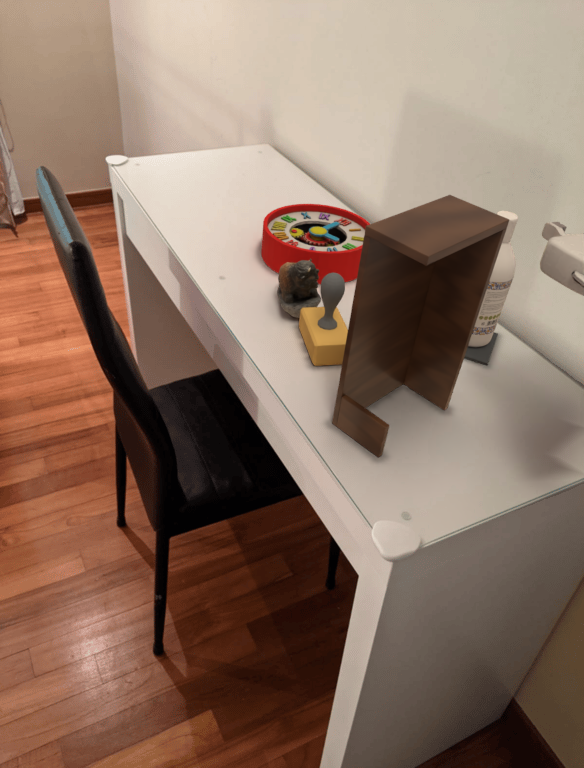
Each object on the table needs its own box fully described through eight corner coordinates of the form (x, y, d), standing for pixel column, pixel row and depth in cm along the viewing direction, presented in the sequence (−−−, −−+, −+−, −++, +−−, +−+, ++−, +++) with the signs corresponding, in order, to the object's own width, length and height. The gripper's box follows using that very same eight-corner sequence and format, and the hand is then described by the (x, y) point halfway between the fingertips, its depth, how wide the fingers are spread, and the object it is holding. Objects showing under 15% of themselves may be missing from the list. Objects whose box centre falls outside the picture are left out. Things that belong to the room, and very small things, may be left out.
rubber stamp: (351, 364, 88) (364, 292, 80) (312, 366, 87) (322, 293, 79) (334, 325, 95) (344, 255, 88) (298, 326, 94) (305, 256, 86)
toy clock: (239, 222, 107) (312, 195, 120) (238, 252, 111) (309, 223, 123) (327, 265, 98) (396, 231, 110) (323, 297, 101) (390, 260, 114)
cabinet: (447, 407, 82) (510, 219, 65) (378, 457, 74) (428, 256, 57) (402, 379, 86) (449, 194, 69) (331, 423, 78) (365, 225, 61)
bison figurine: (271, 285, 103) (275, 230, 97) (312, 286, 104) (319, 231, 98) (280, 326, 94) (285, 267, 87) (324, 325, 95) (333, 268, 89)
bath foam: (498, 336, 96) (541, 216, 83) (478, 354, 92) (521, 230, 79) (458, 318, 99) (495, 200, 87) (437, 335, 95) (473, 213, 82)
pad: (497, 335, 97) (498, 333, 97) (487, 365, 90) (487, 363, 90) (442, 318, 99) (443, 316, 99) (428, 346, 93) (428, 344, 93)
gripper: (586, 325, 60) (499, 258, 69) (728, 297, 67) (631, 240, 76) (613, 267, 56) (517, 205, 65) (761, 244, 63) (654, 191, 72)
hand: (579, 224), depth 71 cm, fingers open, 8 cm apart
